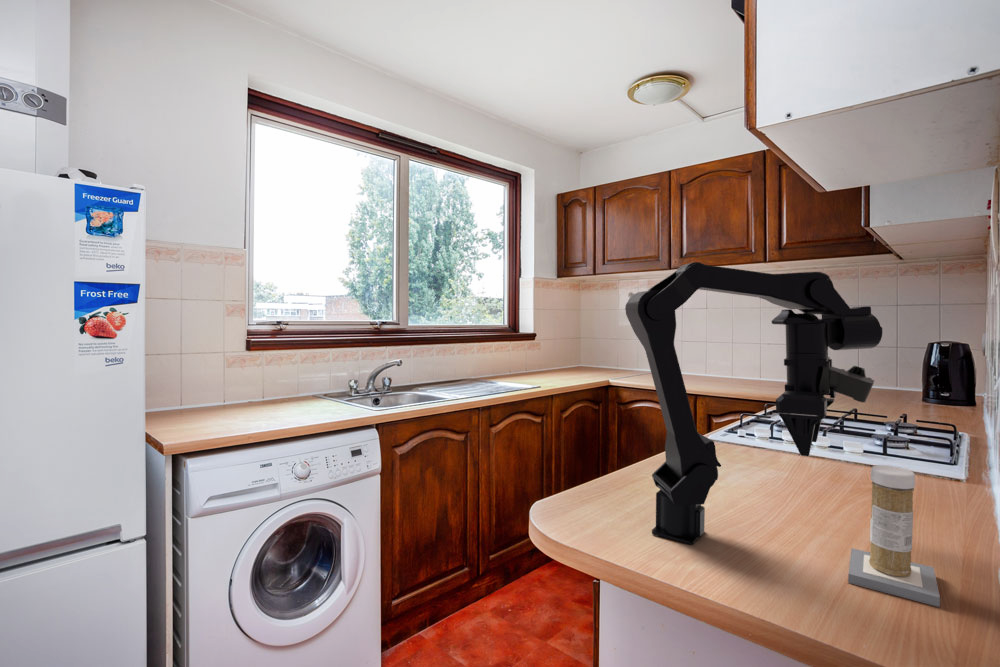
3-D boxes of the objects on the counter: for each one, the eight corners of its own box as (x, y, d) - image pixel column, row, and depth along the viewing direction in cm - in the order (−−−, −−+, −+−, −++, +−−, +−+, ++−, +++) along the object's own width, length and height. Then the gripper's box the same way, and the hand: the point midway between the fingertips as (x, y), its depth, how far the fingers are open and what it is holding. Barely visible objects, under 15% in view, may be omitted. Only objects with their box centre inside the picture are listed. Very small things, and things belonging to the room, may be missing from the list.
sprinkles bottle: (884, 558, 69) (887, 462, 68) (920, 575, 65) (924, 472, 64) (859, 563, 68) (862, 465, 67) (894, 580, 63) (898, 475, 63)
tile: (848, 582, 65) (848, 573, 65) (851, 556, 72) (851, 547, 72) (939, 607, 60) (939, 596, 60) (933, 575, 67) (933, 566, 67)
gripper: (866, 358, 67) (868, 472, 68) (871, 347, 82) (873, 441, 83) (773, 357, 74) (776, 460, 75) (793, 346, 89) (795, 433, 89)
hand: (808, 448), depth 80 cm, fingers open, 9 cm apart
